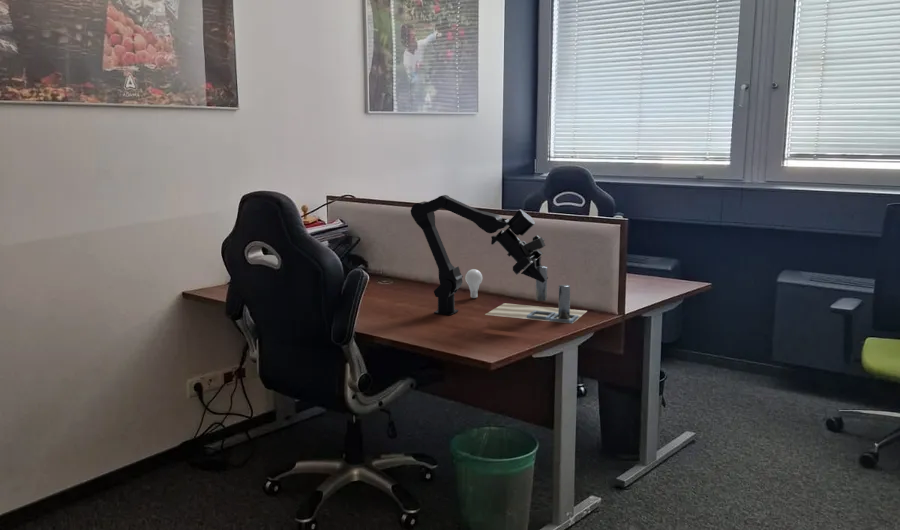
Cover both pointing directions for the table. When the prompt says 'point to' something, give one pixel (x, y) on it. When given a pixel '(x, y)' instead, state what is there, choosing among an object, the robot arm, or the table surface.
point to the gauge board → (534, 313)
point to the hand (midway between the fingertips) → (545, 280)
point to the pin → (541, 285)
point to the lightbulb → (473, 281)
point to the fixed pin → (564, 302)
